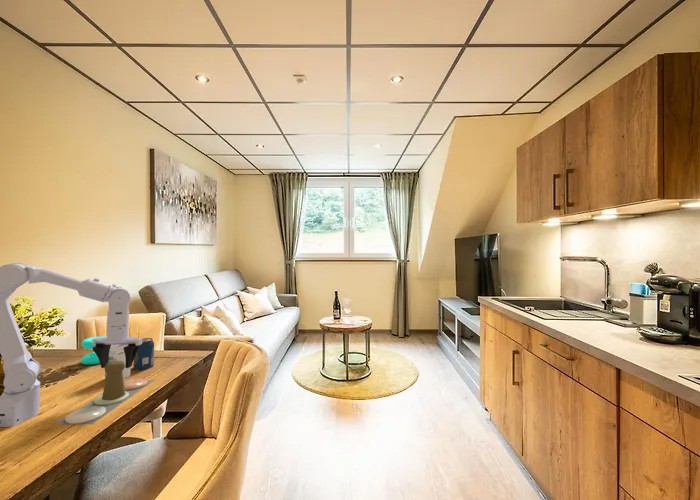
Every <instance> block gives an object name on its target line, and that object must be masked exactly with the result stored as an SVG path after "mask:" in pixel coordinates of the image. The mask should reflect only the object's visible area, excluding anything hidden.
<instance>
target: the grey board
mask: <svg viewBox="0 0 700 500" xmlns="http://www.w3.org/2000/svg"><path fill="white" fill-rule="evenodd" d="M127 380H128V379H126V380H124V381H127ZM147 380H148V383H147V385H145V386H143V387H141V388H138V389H134V390H128V391H126V392H128V393H129V397H128V398H127V399H125V400H124V401H121V402H119V403H115V404H111V405H104V406H103V407H105V408H106V413H105V414H104V415H103V416H101V417H99V418H97V419H95V420H92V421H89V422H85V423H80V424H79V425H94V424H95V423H96V422H97V421H99V420H101V419H102V418H104V416H106V415H108V414H109V413H110V412H112V411H113V410H115V409H116V408H117V407H119V406H120V405H122V404H123V403H124V402H125V401H127V400H129V399H130V398H132V397H133V396H134V395H136V394H138V393H139V392H140V391H141V390H143V389H144V388H145V387H147V386H149V385H150V384H151V383H152V382H154V381H155V379H150V380H149V379H147ZM91 406H99V405H95V404H94V399H93V400H91V401H90V402H88V403H86V404H85V405H83V406H81V407H79V409H82V408H86V407H91ZM79 409H77V410H79ZM65 418H66V416H65V417H64V418H62V419H60V420H59V421H57V422H55V423H54V425H69V424H68V423H66V422H65Z"/></svg>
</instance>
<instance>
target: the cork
mask: <svg viewBox="0 0 700 500" xmlns="http://www.w3.org/2000/svg"><path fill="white" fill-rule="evenodd" d="M124 367H125V364H124V362H123V361H112V362H109V363H107V364H106V365H105V367H104V373H105V372H106V373H107V374H106V379H104V385H103V391H102V394H103V396H102V399H103V400H115V399H118V398H121V397H123V396H124V395H125V387H124V381H125V380H124V379H123V372H122V371H123V369H124Z"/></svg>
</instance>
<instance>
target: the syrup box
mask: <svg viewBox="0 0 700 500" xmlns="http://www.w3.org/2000/svg"><path fill="white" fill-rule="evenodd" d="M126 346H128V345H111V347H110V351H109V361H108V363H109V362H112V361H123V362H124V364H125V362H126V358H125V352H124V349H123V348H124V347H126ZM122 372H123V380H124V379H125V378H129V377H130V376H131V367H129V368H126V366H125V367H124V369H123V371H122ZM106 374H107V373H106V372H105V371H104V380H106Z"/></svg>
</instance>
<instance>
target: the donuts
mask: <svg viewBox="0 0 700 500" xmlns="http://www.w3.org/2000/svg"><path fill="white" fill-rule="evenodd" d="M102 337H107V335H106V336H104V335H101V336H91V337H89V338H86V339H85V338H84V340H82V342H81V344H80V345H81V346H82V347H83V348H84V349H89V350H93V347H95V346H96V345H92V339H94V338H102ZM80 363H81V364H83V365H86V366H94V365H99V364H100V362H99V359H98V357H97V355H96V353H95V352H94V351H93V352H89V353H87V354H85V355H83V356H82V357H81V359H80Z"/></svg>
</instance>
